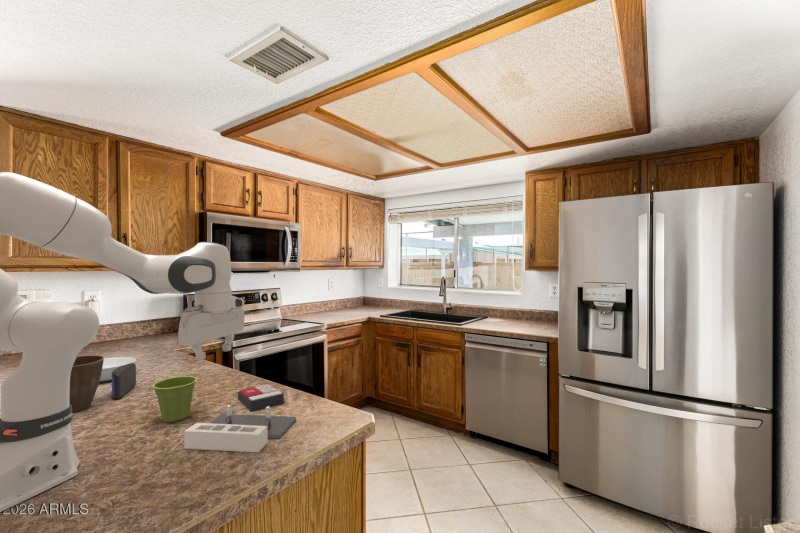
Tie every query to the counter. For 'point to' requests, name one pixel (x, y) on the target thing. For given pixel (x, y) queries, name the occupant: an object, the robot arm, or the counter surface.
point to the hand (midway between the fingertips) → (214, 355)
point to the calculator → (260, 397)
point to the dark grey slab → (123, 380)
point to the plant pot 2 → (175, 397)
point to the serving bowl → (113, 366)
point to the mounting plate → (258, 421)
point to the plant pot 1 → (84, 381)
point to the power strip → (226, 437)
